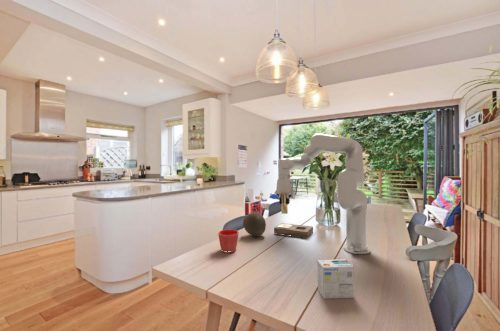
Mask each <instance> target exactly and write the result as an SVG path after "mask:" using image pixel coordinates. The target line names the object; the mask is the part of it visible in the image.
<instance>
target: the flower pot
mask: <svg viewBox="0 0 500 331" xmlns="http://www.w3.org/2000/svg"><path fill="white" fill-rule="evenodd" d="M217 234H218V239H219V240H218V241H219V245H220V250H223V251H227V252H228V251H234V250H235V251H237V247H238V246H237V245H238V240H239V234H240V233H239V230H236V229H222V230H219V231H218V233H217ZM235 251H234V252H235Z"/></svg>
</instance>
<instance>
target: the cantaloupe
mask: <svg viewBox="0 0 500 331" xmlns="http://www.w3.org/2000/svg"><path fill="white" fill-rule="evenodd" d="M242 223H243V224H242V225H243V228H244V230H245V232H246V233H248V235H250V236H251V237H252V236H253V237H260V236H262V235H263V234H264V233H265V231H266V226H267V224H266V219H265V217H264V216H263V214H261V213H259V212H250V213H248V214H246V215H245V217H244V218H243V221H242Z"/></svg>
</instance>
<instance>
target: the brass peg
mask: <svg viewBox="0 0 500 331" xmlns="http://www.w3.org/2000/svg"><path fill="white" fill-rule="evenodd" d="M286 199H287V195H286V194H284V193H282V194H281V204H280V205H281V214H284V215H286V214H288V213H289V210H288V205H287V204H286Z"/></svg>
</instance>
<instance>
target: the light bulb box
mask: <svg viewBox="0 0 500 331" xmlns="http://www.w3.org/2000/svg"><path fill="white" fill-rule="evenodd" d="M316 263H317V264H316V265H317V289H318V291H319V293H320V295H321V296H322V298H323V299H325V300H326V299H352V298H355V292H354V291H355V286H354V285H355V284H354V283H355V282H354V281H355V278H354V265H352V264H351V263H350V261H348V260H347V259H346V258H336V259H317V261H316Z"/></svg>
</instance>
